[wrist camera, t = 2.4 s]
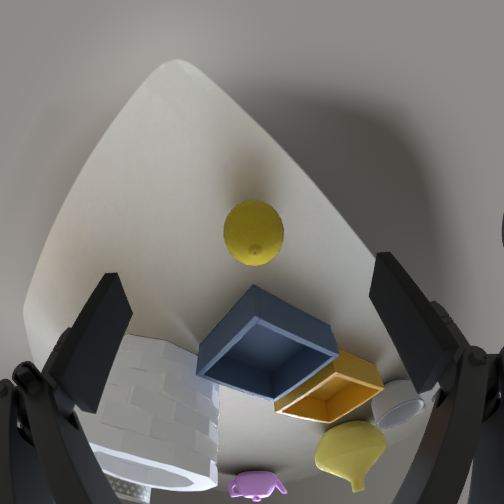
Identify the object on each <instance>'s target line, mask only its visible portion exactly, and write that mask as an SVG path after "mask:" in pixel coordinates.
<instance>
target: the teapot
mask: <svg viewBox="0 0 504 504" xmlns="http://www.w3.org/2000/svg"><path fill="white" fill-rule="evenodd" d="M235 486H237V488H238V490H239V491H240V492H239V493H235V494H234V491H233V487H235ZM275 486H276V487H277V488H278V489H279V490H280V491H281V492H282V494H284V493H287V491H286V489H285V488H284V486H283V485H282V483H281V481H280V480H279V478H277V477H276V476H275V475H274V474H273V473H272V472H269V471H247V472H242V473H239V474H238V475H237V476H236V478H235V480H233V481H232V482H231V483H229V484H228V485H227V488H228V490H229V493H230V495H231V497H237V496H244V497H246V498H253V501H261V498H263V497H268V496H269V495H270V494H271V493H272V491H273V490H274V488H275Z"/></svg>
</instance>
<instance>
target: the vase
mask: <svg viewBox="0 0 504 504" xmlns="http://www.w3.org/2000/svg"><path fill="white" fill-rule="evenodd" d="M385 449H386V440H385V437H384V434H383V433H382V432H381V431H380V430H379V429H378V428H377V427H376V426H374V425H372V424H370V423H368V422H365V421H360V420H355V421H349V422H345V423H342V424H339V425H337V426H334V427H333V428H331V429H330V430H328V431H327V432H326V433H325V434H324V435H323V437H322V438H321V440H320V442H319V443H318V445H317V449H316V452H315V462H316V465H317V467H318V468H319V469H321V470H323V471H326V472H329V473H332V474H334V475H337V476H339V477H342V478H345V479H347V480H348V481H350V482H351V484H352V489H353V492H357V491H361V490H364V489H365V485H364V476H365V475H366V473H367V472H368V470H369V469H370V468H371V467H372V465H373V464H374V463H375V462H376V460H377V459H378V458H379V457H380V456H381V454H382V453H383V452H384V450H385Z"/></svg>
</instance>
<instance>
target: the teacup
mask: <svg viewBox="0 0 504 504" xmlns="http://www.w3.org/2000/svg"><path fill="white" fill-rule="evenodd" d="M384 387H385V389H384V390H383V391H381V392H380V393H378V394H377V395H375V396H374V397H373V399H372V402H371V407H372V411H373V415H374V418H375V421H376V426H377V427H378V428H379V429H388V428H392V427H395V426H398V425H400V424H402V423H404V422H406V421H408V420H409V419H411V418H412V417H413V416H415V415H416V414H417V413H422V412H423V411H424V410H425V408H426V404H425V402H424V400H423V399H422V398H421V396H420V394H417V392H416V390H415V388H414V386H413V383H412V382H410V381H408V380H401V379H399V380H393V381H390V382H388V383H386V384H385V385H384Z"/></svg>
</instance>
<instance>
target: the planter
mask: <svg viewBox="0 0 504 504" xmlns="http://www.w3.org/2000/svg"><path fill="white" fill-rule="evenodd" d="M103 473H104V472H103ZM104 474H105V476H106V478H107V480H108V482H109V483H110V485H111V487H112V488H113V490H114V492H115V493H116V495H117V497H119V498H123V499H126V500H130V501H134V502H138V503H145V504H149V501H150V492H151V487H147V486H143V485H140V484H136V483H132V482H129V481H125V480H122V479H119V478H116V477H113V476H111V475H109V474H106V473H104Z"/></svg>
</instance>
